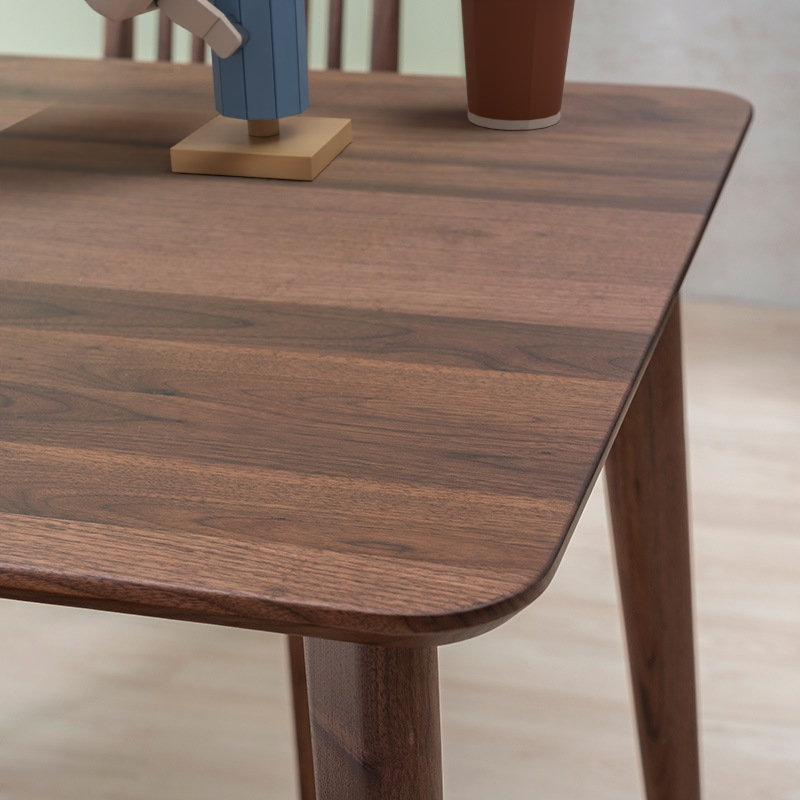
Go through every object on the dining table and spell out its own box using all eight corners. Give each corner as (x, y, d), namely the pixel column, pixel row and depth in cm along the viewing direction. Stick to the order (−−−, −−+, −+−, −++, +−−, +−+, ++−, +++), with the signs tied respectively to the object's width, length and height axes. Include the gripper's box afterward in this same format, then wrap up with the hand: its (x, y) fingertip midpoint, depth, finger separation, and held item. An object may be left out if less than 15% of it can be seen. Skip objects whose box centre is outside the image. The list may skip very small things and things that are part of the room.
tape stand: (171, 172, 77) (154, -6, 72) (223, 134, 85) (211, -29, 80) (312, 181, 75) (304, -1, 70) (352, 141, 83) (347, -25, 78)
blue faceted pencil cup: (203, 118, 77) (192, -19, 73) (236, 95, 82) (227, -34, 78) (291, 122, 75) (283, -17, 72) (319, 99, 80) (313, -32, 77)
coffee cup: (577, 137, 83) (588, -54, 78) (440, 133, 84) (441, -56, 79) (581, 104, 91) (591, -72, 86) (456, 100, 92) (458, -73, 87)
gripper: (29, -172, 65) (209, 34, 66) (225, -187, 82) (366, -23, 83) (-26, -83, 69) (145, 111, 70) (172, -115, 85) (308, 41, 86)
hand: (267, 38), depth 76 cm, fingers closed on blue faceted pencil cup, 6 cm apart
